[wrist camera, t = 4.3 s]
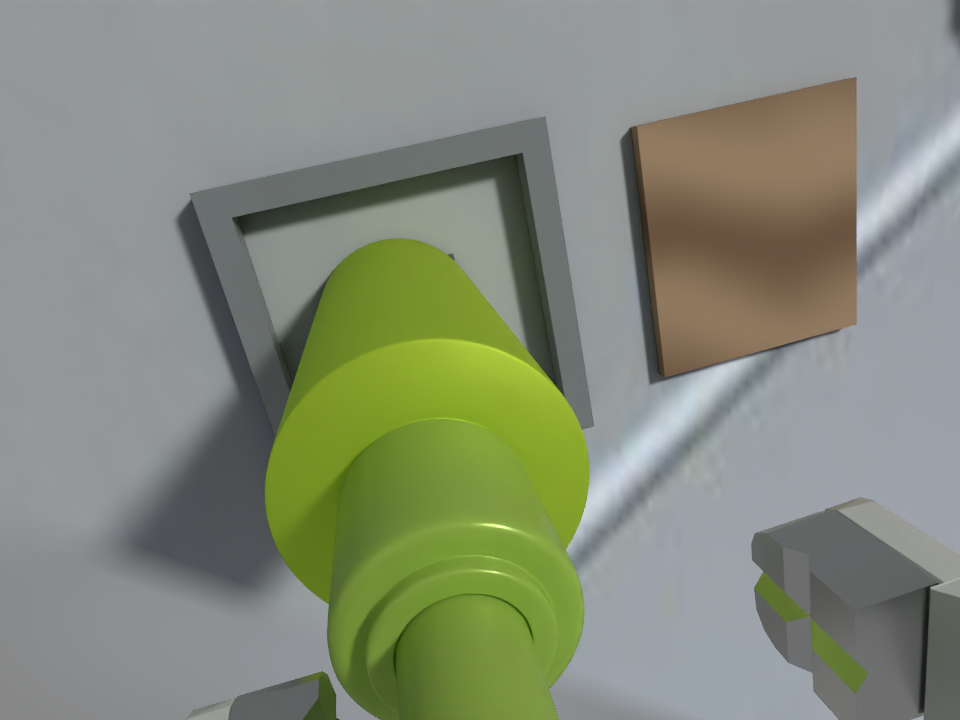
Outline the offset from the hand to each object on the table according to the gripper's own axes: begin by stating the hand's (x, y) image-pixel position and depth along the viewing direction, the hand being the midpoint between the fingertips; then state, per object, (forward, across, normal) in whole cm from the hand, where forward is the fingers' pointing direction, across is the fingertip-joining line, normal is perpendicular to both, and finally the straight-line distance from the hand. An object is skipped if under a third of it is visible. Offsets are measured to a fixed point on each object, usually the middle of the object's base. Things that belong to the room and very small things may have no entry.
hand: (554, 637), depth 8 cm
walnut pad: (+17, -14, 0) cm, 22 cm away
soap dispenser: (+17, 0, 0) cm, 17 cm away
